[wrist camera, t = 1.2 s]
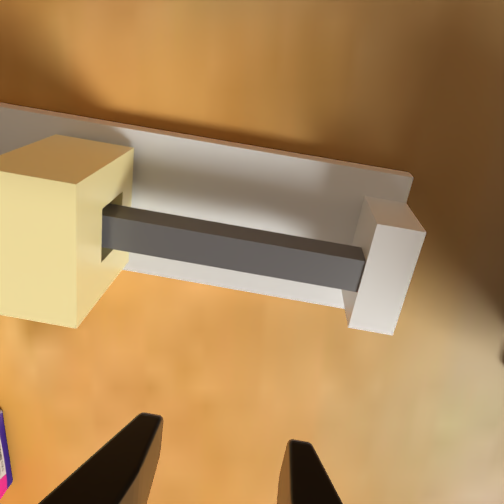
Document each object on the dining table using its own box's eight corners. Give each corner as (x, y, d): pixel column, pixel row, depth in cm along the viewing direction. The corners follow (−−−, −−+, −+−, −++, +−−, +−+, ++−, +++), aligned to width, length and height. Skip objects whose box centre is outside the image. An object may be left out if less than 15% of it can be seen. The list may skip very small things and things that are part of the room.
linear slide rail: (408, 172, 18) (444, 212, 14) (370, 304, 21) (389, 373, 16) (-141, 78, 19) (-276, 88, 14) (-116, 218, 21) (-224, 264, 17)
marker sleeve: (134, 147, 18) (76, 184, 13) (128, 261, 20) (76, 328, 15) (56, 134, 18) (-30, 166, 13) (58, 248, 20) (-16, 311, 15)
